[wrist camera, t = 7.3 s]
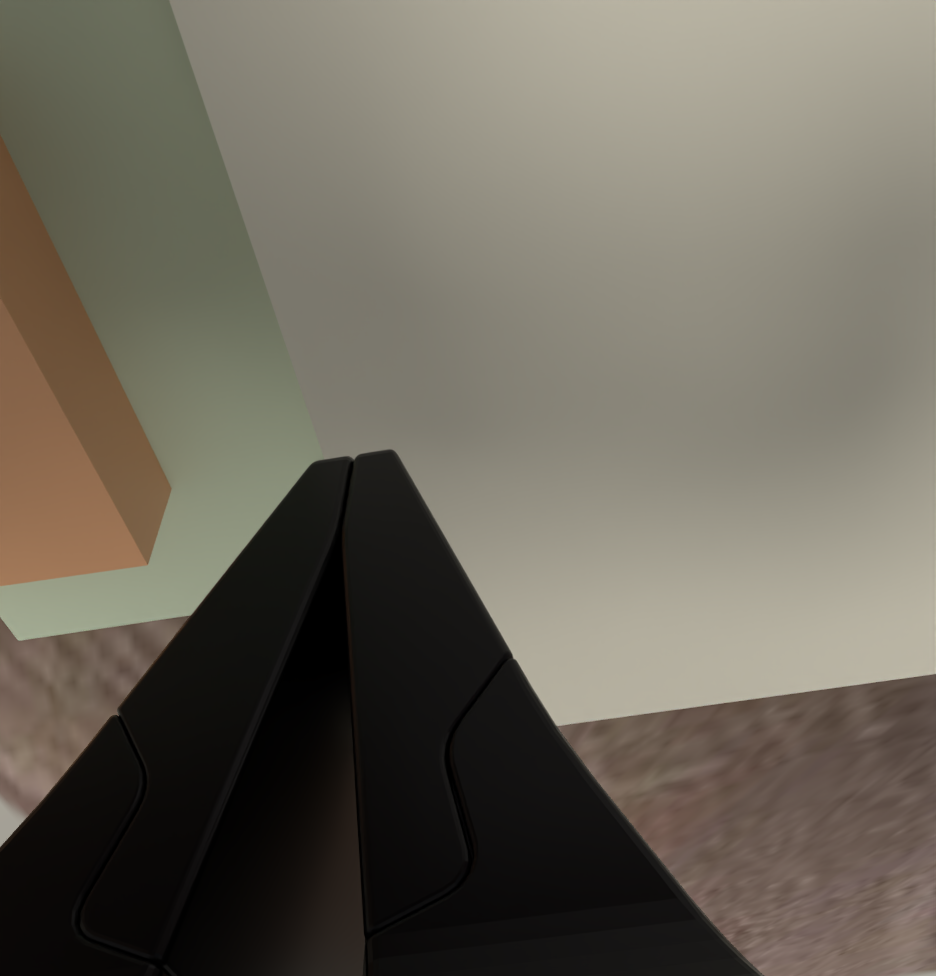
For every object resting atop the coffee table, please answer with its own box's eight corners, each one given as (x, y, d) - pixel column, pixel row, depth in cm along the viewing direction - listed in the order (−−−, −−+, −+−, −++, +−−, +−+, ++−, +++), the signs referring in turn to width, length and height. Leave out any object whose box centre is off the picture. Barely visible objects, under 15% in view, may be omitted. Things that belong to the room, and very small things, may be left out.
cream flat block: (980, 501, 18) (1095, 651, 15) (418, 583, 19) (420, 744, 16) (1388, -803, 8) (2009, -1150, 5) (109, -515, 9) (-53, -657, 5)
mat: (390, 571, 19) (390, 585, 18) (24, 626, 19) (18, 640, 19) (84, -430, 9) (72, -437, 9) (-650, -269, 9) (-684, -270, 9)
